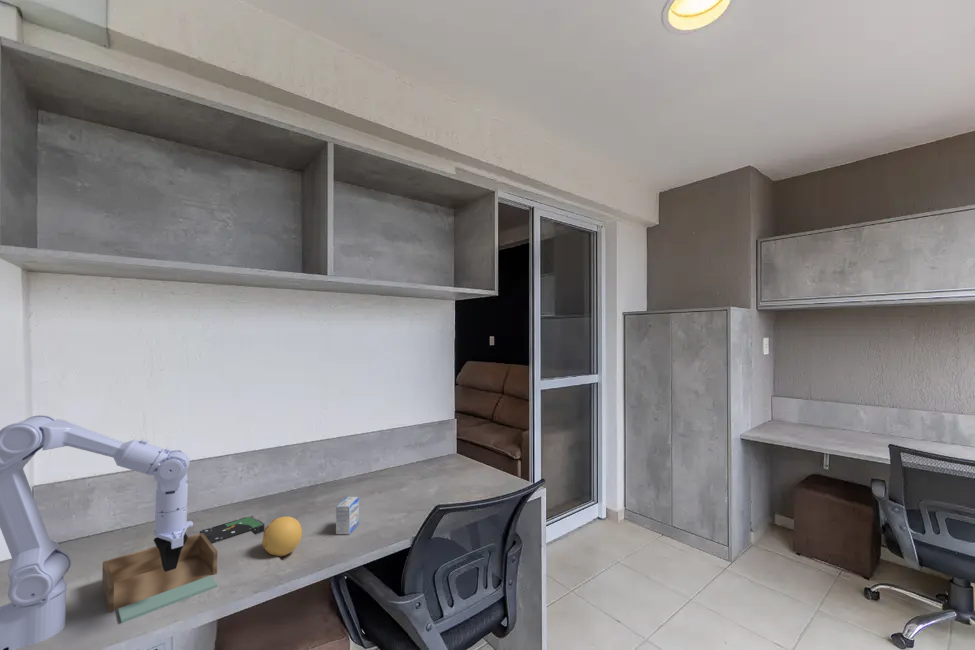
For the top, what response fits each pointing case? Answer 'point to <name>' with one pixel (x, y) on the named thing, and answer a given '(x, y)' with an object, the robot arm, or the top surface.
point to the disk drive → (233, 529)
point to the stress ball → (282, 536)
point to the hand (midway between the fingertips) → (169, 569)
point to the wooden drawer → (155, 572)
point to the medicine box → (347, 515)
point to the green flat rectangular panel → (165, 598)
